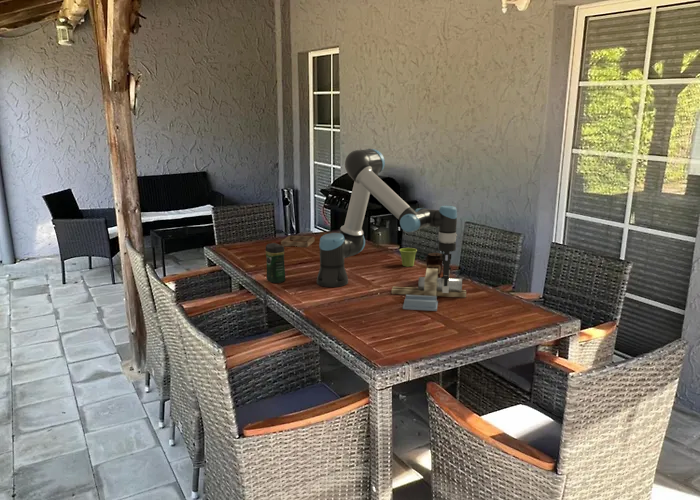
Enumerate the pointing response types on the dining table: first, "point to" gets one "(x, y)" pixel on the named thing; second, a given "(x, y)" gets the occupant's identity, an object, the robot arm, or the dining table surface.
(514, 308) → the dining table surface
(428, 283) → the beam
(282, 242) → the can corral
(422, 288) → the axle
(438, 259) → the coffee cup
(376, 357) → the dining table surface
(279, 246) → the coffee jar
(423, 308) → the v block
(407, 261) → the plant pot
